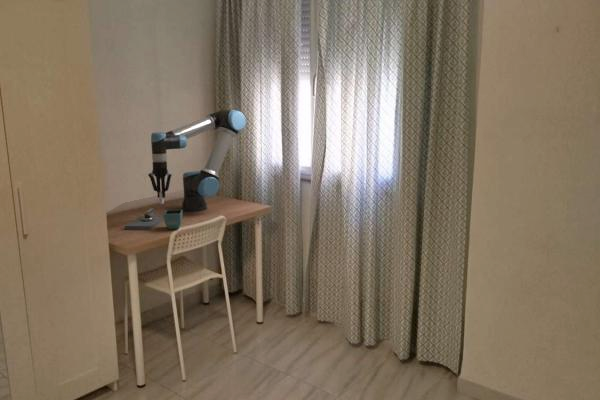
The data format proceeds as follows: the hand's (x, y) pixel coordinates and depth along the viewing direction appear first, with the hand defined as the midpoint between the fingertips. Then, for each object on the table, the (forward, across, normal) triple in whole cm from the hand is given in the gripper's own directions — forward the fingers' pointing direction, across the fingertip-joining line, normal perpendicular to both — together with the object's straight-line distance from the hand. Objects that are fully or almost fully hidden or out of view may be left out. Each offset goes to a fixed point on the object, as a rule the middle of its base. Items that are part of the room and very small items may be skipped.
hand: (161, 203), depth 279 cm
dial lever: (+8, +7, +2) cm, 11 cm away
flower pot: (+11, -10, +13) cm, 20 cm away
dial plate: (+10, +8, +7) cm, 15 cm away
